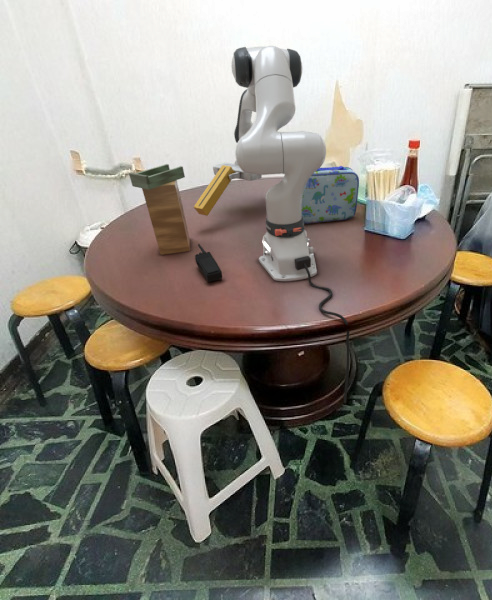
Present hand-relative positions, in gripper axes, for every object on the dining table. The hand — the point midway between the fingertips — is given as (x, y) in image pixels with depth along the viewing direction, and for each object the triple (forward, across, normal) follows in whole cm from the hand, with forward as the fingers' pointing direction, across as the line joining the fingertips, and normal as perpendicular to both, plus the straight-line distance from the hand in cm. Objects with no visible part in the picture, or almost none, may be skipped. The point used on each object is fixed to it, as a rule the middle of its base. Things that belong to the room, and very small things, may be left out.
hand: (223, 176), depth 139 cm
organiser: (+30, 0, +18) cm, 35 cm away
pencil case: (+5, 0, +6) cm, 7 cm away
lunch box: (-19, +36, +18) cm, 44 cm away
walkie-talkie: (+37, +21, +18) cm, 46 cm away
